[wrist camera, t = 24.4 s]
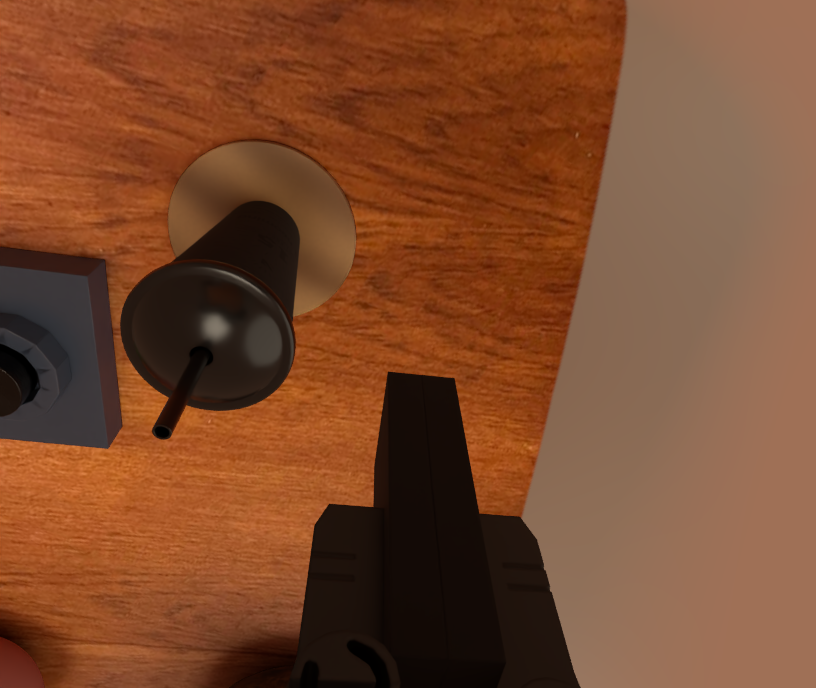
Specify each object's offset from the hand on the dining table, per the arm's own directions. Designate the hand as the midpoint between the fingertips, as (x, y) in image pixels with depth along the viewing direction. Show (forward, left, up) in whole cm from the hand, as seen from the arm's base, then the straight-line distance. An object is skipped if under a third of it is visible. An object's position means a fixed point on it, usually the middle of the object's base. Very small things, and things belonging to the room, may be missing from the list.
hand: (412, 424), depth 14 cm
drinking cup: (+9, -5, -26) cm, 28 cm away
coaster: (+9, -5, -26) cm, 28 cm away
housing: (+25, -15, -26) cm, 39 cm away
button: (+25, -15, -22) cm, 36 cm away
